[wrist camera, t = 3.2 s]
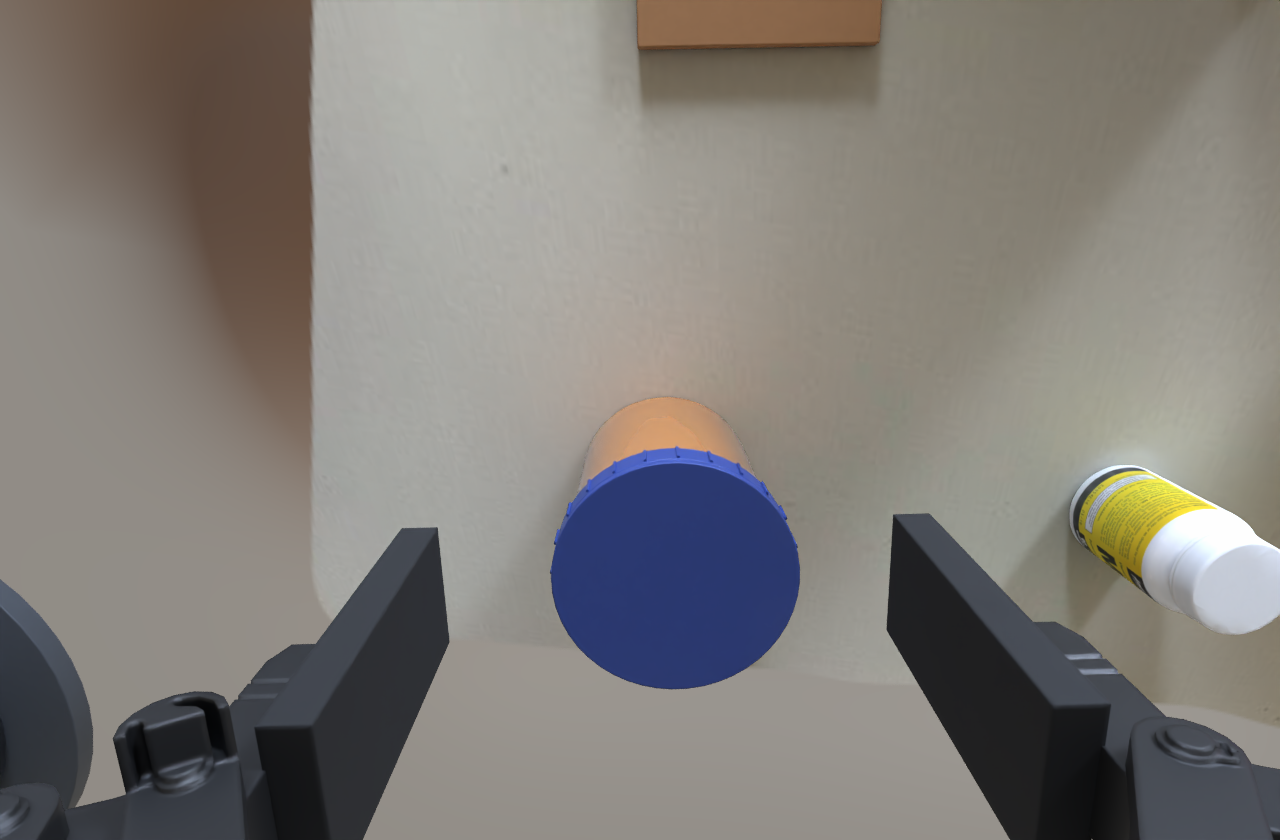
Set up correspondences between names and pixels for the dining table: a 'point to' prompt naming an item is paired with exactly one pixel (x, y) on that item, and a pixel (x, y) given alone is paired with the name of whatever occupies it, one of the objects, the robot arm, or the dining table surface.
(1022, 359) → the dining table surface
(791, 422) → the dining table surface
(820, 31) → the coaster
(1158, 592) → the supplement bottle
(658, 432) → the jar
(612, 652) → the lid
